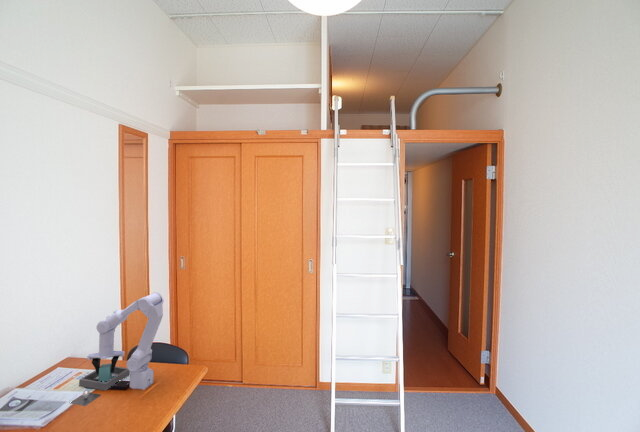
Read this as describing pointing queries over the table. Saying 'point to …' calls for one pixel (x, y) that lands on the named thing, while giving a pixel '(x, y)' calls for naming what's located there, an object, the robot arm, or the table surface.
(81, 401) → the stud plate
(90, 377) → the bin
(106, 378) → the socket block
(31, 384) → the table surface
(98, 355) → the robot arm
